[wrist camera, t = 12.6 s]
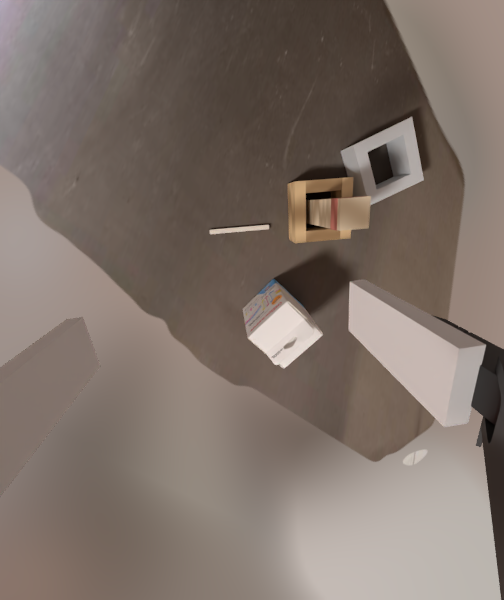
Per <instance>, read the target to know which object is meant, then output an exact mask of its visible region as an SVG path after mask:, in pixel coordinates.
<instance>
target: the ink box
mask: <svg viewBox="0 0 504 600" xmlns="http://www.w3.org/2000/svg"><path fill="white" fill-rule="evenodd" d="M243 314H244V319H245V325H246V331H247V336H248V339H249V340H250V341H251V342H252V343H253V344H255V345H256V346H257V347H258V348H259V349H261V350H262V351H263V352H264V353H265V354H267V355H268V357H269V358H270V359H271V360H272V362H273V363H274V364H275V365H280V366H281V367H282V368H285V367H287V366H288V365H289V364H290V363H291V362H292V361H294V360H295V359H296V358H297V357H298V356H299V355H300V354H302V353H303V352H304V351H305V350H306V349H307V348H309V347H310V346H311V345H312V344H313V343H314V342H315V341H317V340H318V339H319V338H320V337H321V336H322V335H323V333H322V331H321V330H320V329H319V327H318V326H317V324H316V323H315V322H314V320H313V319H312V317H311V316H310V315H309V313H308V312H307V310H306V309H305V308H304V306H303V305H302V304H301V303H300V302H299V301H298V300H297V299H296V298H294V297H293V296H292V295H291V294H290V293H289V292H288V291H287V290H286V289H285V288H284V287H283V286H282V285H281V284H279V283H278V282H277V281H276V280H275V279H272V280H271V281H270V282H269V283H268V284H267V285H266V286H265V287H264V288H263V289H262V290H261V291H260V292H259V293H258V294H257V295H256V296H255V297H254V298H253V299H252V300H251V301H250V302H249V303H248V304H247V305H246V306H245V307H244V308H243Z"/></svg>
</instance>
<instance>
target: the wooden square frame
mask: <svg viewBox="0 0 504 600" xmlns="http://www.w3.org/2000/svg"><path fill="white" fill-rule="evenodd" d="M318 192H331V198H345V197H352V196H353V177H347V178H334V179H321V180H308V181H295V182H291V183H288V216H289V240H291V241H293V242H294V243H303V242H313V241H324V240H335V239H346V238H350V235H351V230H342V231H336V230H332V229H329V228H325V227H313V228H306V193H318Z"/></svg>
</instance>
